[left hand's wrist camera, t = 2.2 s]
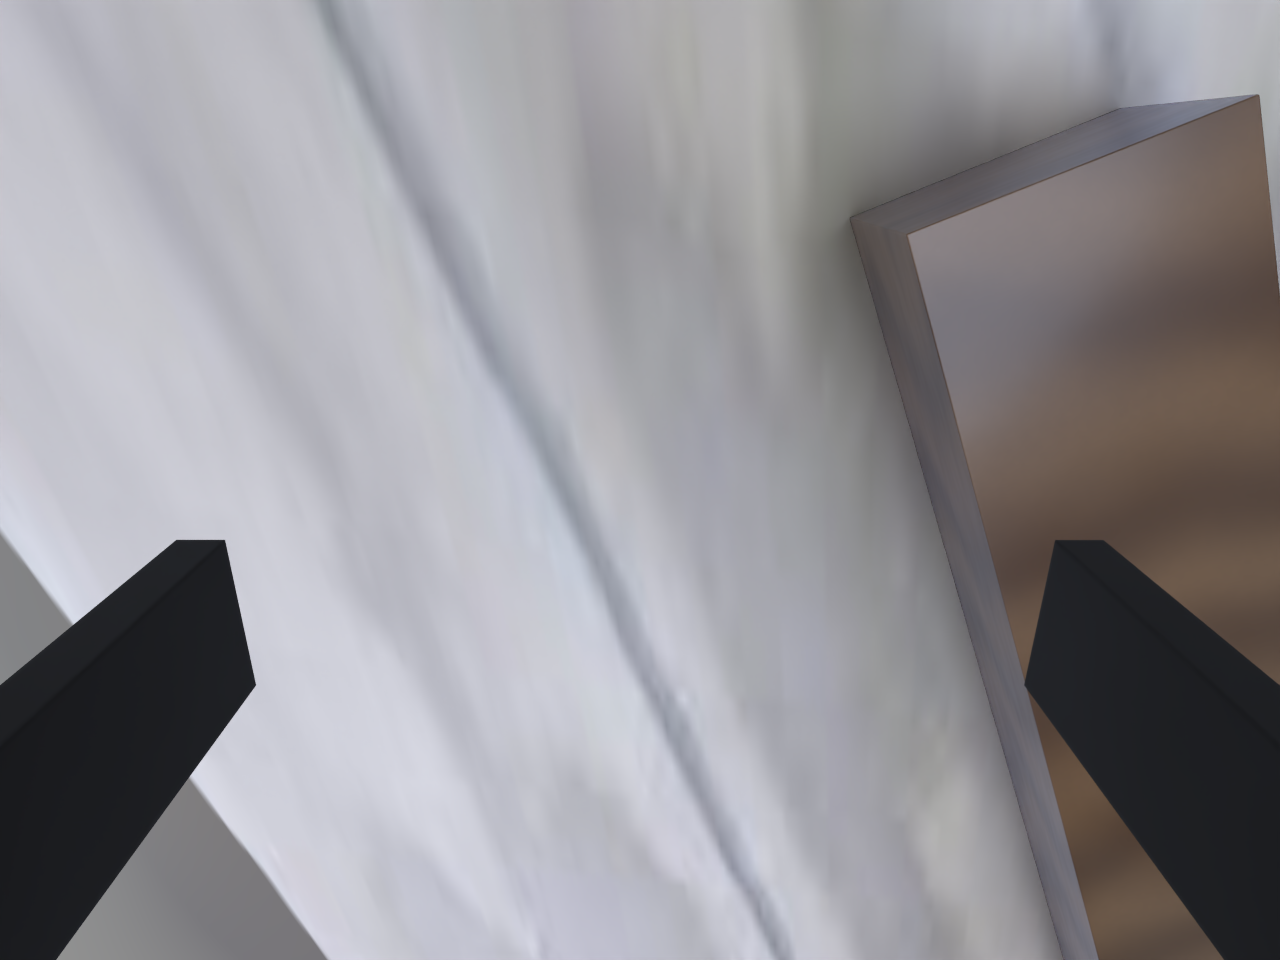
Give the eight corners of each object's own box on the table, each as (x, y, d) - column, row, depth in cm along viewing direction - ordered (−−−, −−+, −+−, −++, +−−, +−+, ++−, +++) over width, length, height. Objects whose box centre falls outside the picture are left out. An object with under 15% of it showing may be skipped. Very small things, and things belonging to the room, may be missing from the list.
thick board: (849, 217, 31) (906, 234, 24) (1121, 107, 29) (1260, 93, 23) (1095, 1070, 49) (1165, 1210, 43) (1269, 1029, 48) (1369, 1167, 41)
